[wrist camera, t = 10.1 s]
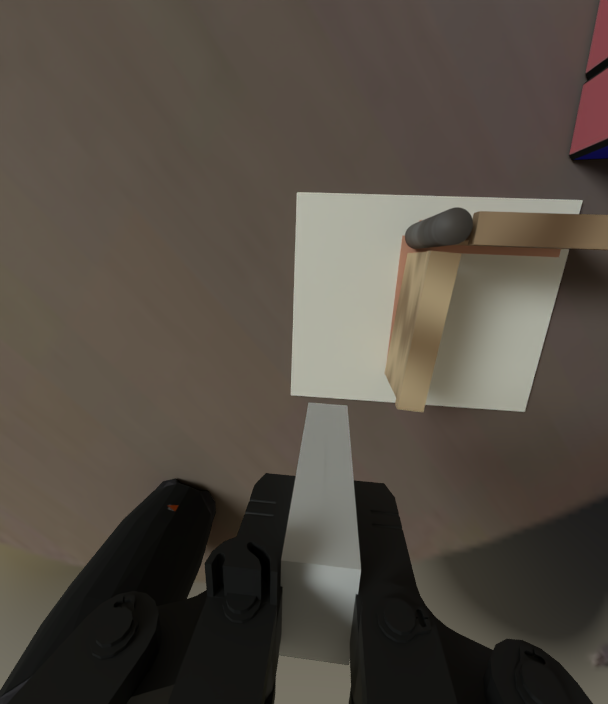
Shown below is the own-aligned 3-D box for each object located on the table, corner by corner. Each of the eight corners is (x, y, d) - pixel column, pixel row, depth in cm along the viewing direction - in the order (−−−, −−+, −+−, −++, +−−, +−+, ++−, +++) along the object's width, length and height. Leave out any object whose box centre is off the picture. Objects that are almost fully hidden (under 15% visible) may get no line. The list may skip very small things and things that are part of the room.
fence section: (565, 227, 24) (673, 213, 17) (558, 254, 25) (659, 252, 17) (406, 222, 25) (439, 206, 18) (403, 248, 26) (433, 244, 18)
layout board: (578, 201, 24) (584, 199, 24) (522, 409, 29) (525, 412, 29) (297, 193, 26) (296, 191, 25) (291, 393, 31) (290, 395, 30)
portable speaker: (173, 459, 34) (-4, 686, 16) (236, 507, 35) (140, 769, 17) (133, 502, 36) (-61, 744, 18) (195, 546, 38) (70, 814, 19)
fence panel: (403, 252, 25) (431, 250, 19) (425, 255, 25) (461, 253, 18) (381, 372, 29) (397, 408, 22) (400, 375, 28) (423, 412, 22)
